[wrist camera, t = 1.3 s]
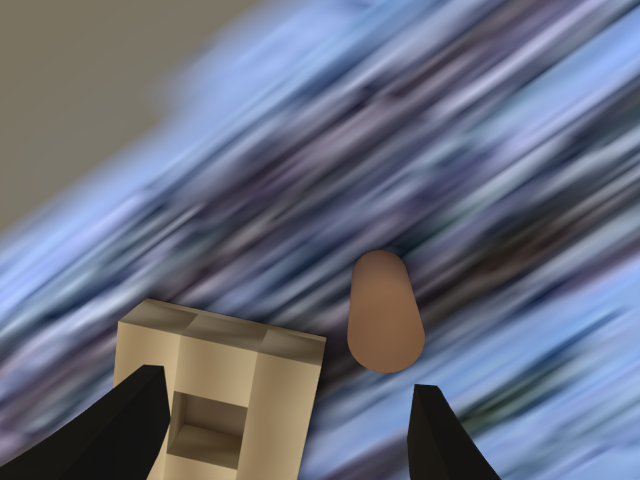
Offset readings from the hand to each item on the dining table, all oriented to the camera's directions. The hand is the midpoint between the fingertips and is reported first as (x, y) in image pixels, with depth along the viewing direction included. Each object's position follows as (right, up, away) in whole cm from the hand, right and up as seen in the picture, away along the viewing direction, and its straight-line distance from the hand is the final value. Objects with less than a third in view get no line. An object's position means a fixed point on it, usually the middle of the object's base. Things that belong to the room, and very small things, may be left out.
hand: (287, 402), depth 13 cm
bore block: (-5, -4, +13) cm, 14 cm away
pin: (+4, +3, +10) cm, 11 cm away
